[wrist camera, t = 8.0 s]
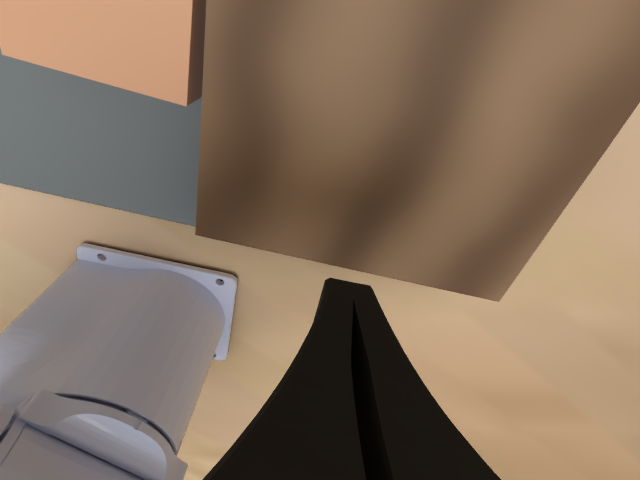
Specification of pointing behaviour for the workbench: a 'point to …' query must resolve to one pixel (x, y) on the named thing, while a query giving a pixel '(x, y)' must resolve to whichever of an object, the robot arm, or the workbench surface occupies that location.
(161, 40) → the tile
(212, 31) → the deck
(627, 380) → the workbench surface
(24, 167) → the mat
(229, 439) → the workbench surface
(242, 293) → the workbench surface
